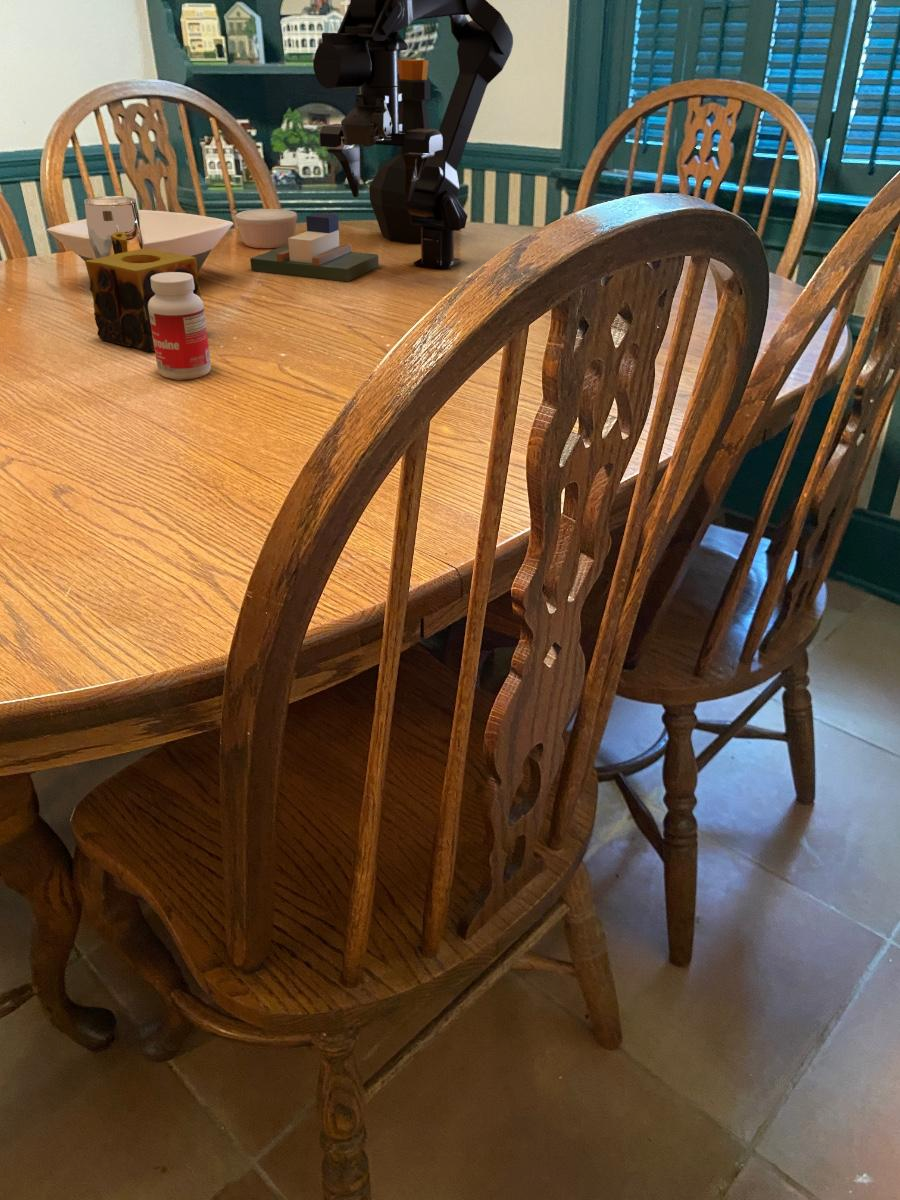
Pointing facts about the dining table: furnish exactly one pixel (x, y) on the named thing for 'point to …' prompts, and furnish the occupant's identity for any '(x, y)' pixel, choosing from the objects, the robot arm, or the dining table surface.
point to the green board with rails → (317, 263)
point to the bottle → (401, 155)
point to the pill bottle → (178, 327)
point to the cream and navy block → (315, 238)
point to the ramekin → (266, 227)
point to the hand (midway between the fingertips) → (381, 199)
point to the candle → (131, 292)
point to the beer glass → (113, 225)
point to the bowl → (156, 234)
